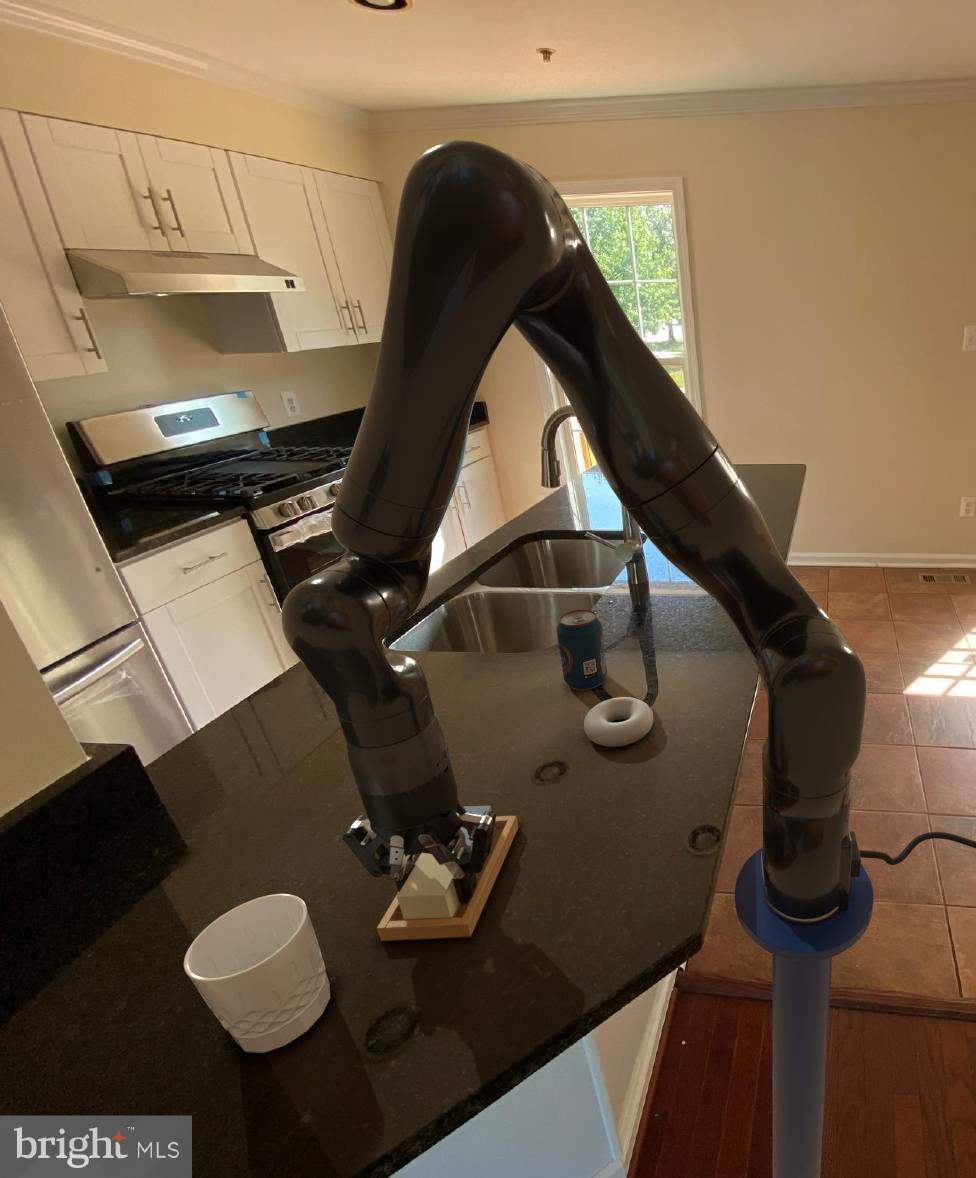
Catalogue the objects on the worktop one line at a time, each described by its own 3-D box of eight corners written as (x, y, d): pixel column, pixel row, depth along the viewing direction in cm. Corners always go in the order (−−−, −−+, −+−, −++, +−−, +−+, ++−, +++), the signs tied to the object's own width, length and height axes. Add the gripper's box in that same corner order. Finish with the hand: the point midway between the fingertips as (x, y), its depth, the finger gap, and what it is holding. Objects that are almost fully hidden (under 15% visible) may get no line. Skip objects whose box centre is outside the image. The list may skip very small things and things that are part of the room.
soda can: (559, 677, 107) (549, 614, 102) (600, 666, 110) (592, 604, 105) (571, 697, 101) (561, 630, 97) (613, 684, 105) (606, 619, 100)
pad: (475, 874, 68) (468, 846, 67) (452, 923, 63) (444, 894, 61) (433, 876, 68) (424, 848, 67) (405, 925, 63) (396, 896, 61)
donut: (632, 704, 100) (572, 728, 94) (631, 685, 99) (570, 708, 92) (667, 733, 93) (605, 761, 87) (666, 713, 92) (602, 740, 86)
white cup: (275, 1074, 51) (233, 992, 47) (203, 1045, 53) (157, 965, 49) (360, 983, 58) (329, 905, 54) (293, 961, 60) (259, 884, 56)
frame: (518, 826, 76) (516, 815, 75) (470, 936, 62) (467, 924, 62) (445, 829, 75) (441, 818, 75) (380, 941, 62) (376, 928, 61)
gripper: (296, 795, 55) (350, 933, 62) (465, 789, 56) (499, 926, 62) (346, 742, 62) (389, 871, 68) (496, 737, 62) (524, 865, 69)
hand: (441, 896), depth 65 cm, fingers closed on pad, 4 cm apart
